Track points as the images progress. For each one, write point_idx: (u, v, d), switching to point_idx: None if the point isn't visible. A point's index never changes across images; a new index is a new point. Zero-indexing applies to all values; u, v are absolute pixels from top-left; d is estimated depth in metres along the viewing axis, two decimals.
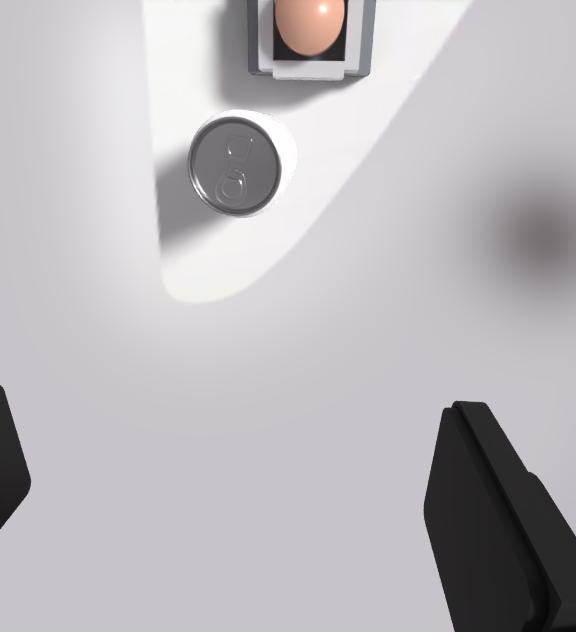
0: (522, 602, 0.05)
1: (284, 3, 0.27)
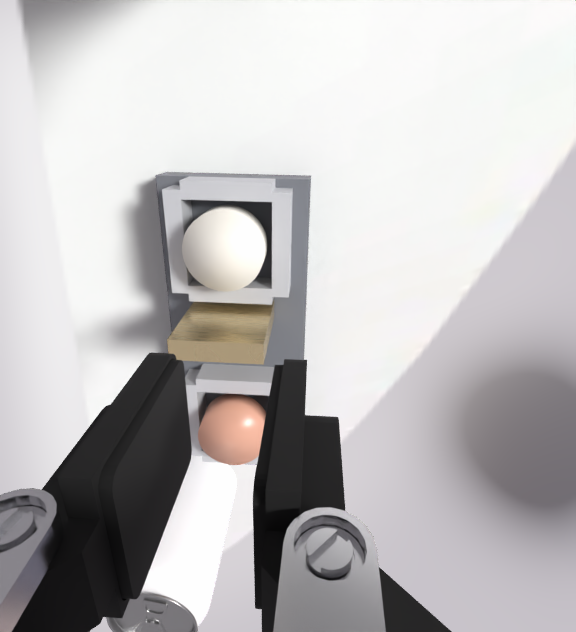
0: (255, 498, 0.06)
1: (206, 431, 0.28)
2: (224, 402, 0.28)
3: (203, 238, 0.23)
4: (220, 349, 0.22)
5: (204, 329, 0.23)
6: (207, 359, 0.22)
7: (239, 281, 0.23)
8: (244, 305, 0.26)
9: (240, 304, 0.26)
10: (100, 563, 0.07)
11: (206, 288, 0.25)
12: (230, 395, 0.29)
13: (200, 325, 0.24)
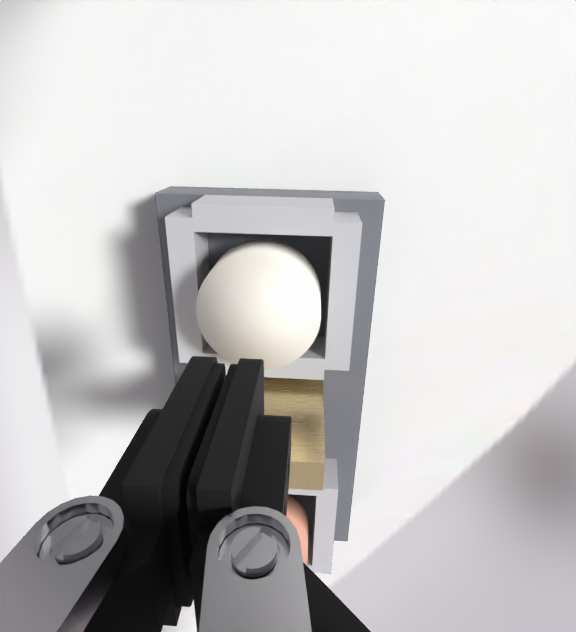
0: (190, 497, 0.06)
1: None
2: None
3: (229, 293, 0.15)
4: None
5: None
6: None
7: (282, 355, 0.15)
8: (281, 378, 0.18)
9: None
10: (162, 571, 0.06)
11: None
12: None
13: None
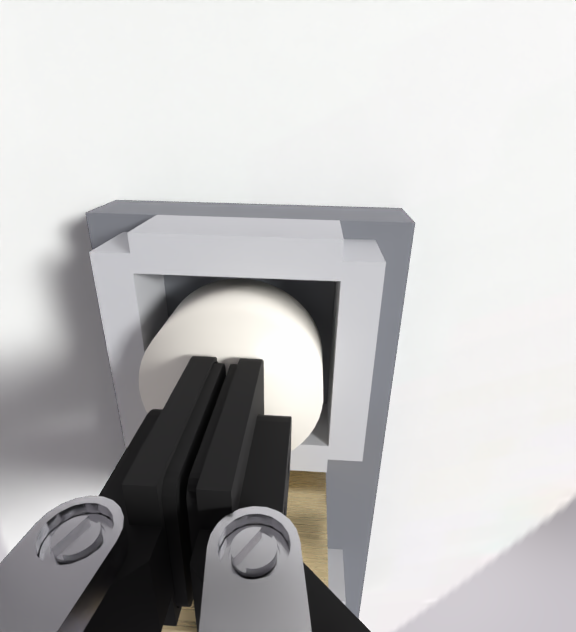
0: (190, 497, 0.06)
1: None
2: None
3: (186, 365, 0.10)
4: None
5: None
6: None
7: None
8: None
9: None
10: (161, 571, 0.06)
11: None
12: None
13: None
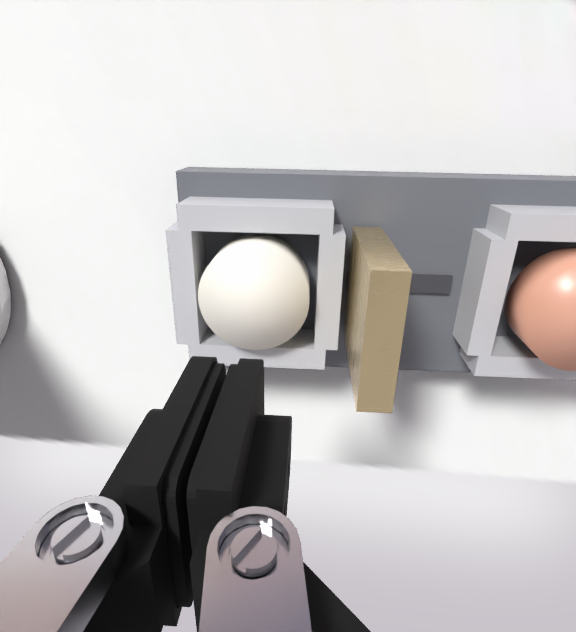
0: (190, 497, 0.06)
1: (563, 357, 0.16)
2: (515, 319, 0.17)
3: (235, 322, 0.17)
4: (377, 339, 0.13)
5: (356, 349, 0.15)
6: (395, 359, 0.14)
7: (293, 281, 0.16)
8: (351, 274, 0.18)
9: (350, 279, 0.18)
10: (161, 571, 0.06)
11: (317, 325, 0.18)
12: (507, 306, 0.17)
13: (354, 351, 0.16)
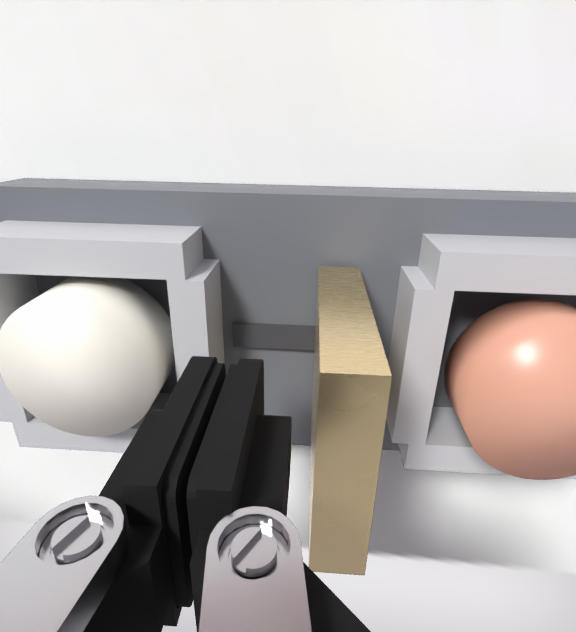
0: (190, 497, 0.06)
1: (522, 461, 0.11)
2: (454, 401, 0.12)
3: (56, 401, 0.12)
4: (336, 475, 0.08)
5: (312, 467, 0.10)
6: (366, 504, 0.08)
7: (128, 347, 0.11)
8: None
9: (315, 340, 0.13)
10: (162, 571, 0.06)
11: None
12: (446, 379, 0.12)
13: None
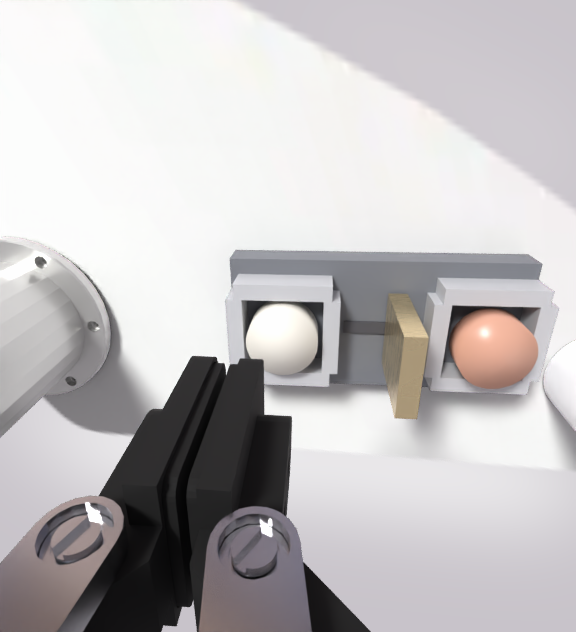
0: (190, 497, 0.06)
1: (483, 380, 0.25)
2: (453, 355, 0.26)
3: (269, 357, 0.26)
4: (407, 375, 0.22)
5: (393, 379, 0.24)
6: (418, 387, 0.22)
7: (307, 332, 0.26)
8: (387, 326, 0.27)
9: (387, 328, 0.27)
10: (161, 571, 0.06)
11: (323, 358, 0.27)
12: (449, 345, 0.26)
13: (392, 379, 0.25)
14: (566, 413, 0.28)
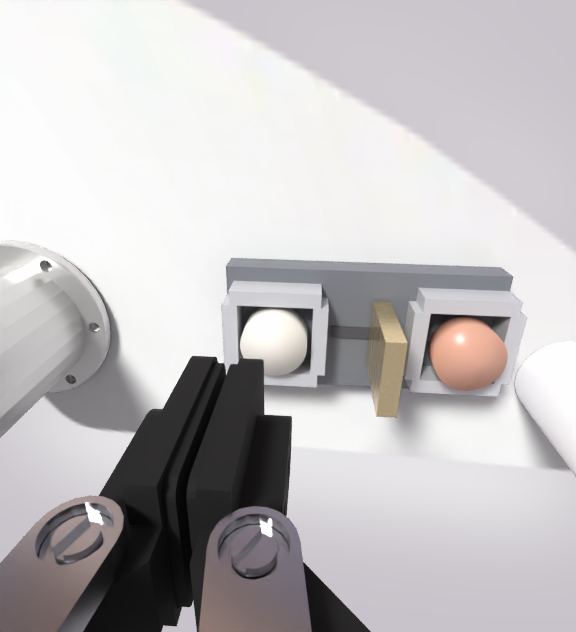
0: (190, 497, 0.06)
1: (458, 382, 0.27)
2: (431, 359, 0.28)
3: None
4: (388, 377, 0.24)
5: (376, 380, 0.26)
6: (398, 388, 0.25)
7: (297, 336, 0.28)
8: (372, 331, 0.29)
9: (371, 334, 0.29)
10: (161, 571, 0.06)
11: (312, 360, 0.29)
12: (428, 350, 0.29)
13: (374, 380, 0.27)
14: (534, 414, 0.30)
